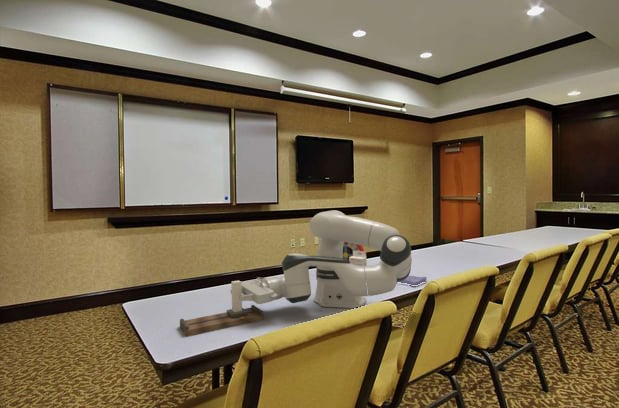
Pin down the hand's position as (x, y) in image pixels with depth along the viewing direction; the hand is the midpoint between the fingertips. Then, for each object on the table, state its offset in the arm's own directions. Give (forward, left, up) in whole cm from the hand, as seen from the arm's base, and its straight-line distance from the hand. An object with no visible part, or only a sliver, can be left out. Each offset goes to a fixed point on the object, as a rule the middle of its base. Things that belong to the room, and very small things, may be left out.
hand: (235, 295), depth 133 cm
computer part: (-44, -80, -10) cm, 92 cm away
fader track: (+3, +4, -9) cm, 11 cm away
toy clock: (-15, -90, -10) cm, 92 cm away
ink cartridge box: (-25, -76, -10) cm, 81 cm away
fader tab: (0, 0, -7) cm, 7 cm away
